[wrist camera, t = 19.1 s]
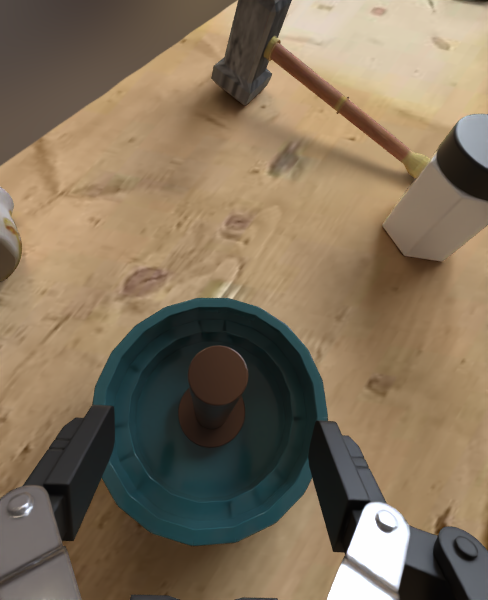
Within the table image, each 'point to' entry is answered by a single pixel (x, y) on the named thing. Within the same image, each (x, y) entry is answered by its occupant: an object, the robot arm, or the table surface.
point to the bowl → (199, 460)
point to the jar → (445, 196)
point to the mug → (8, 237)
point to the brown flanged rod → (214, 397)
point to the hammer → (265, 47)
